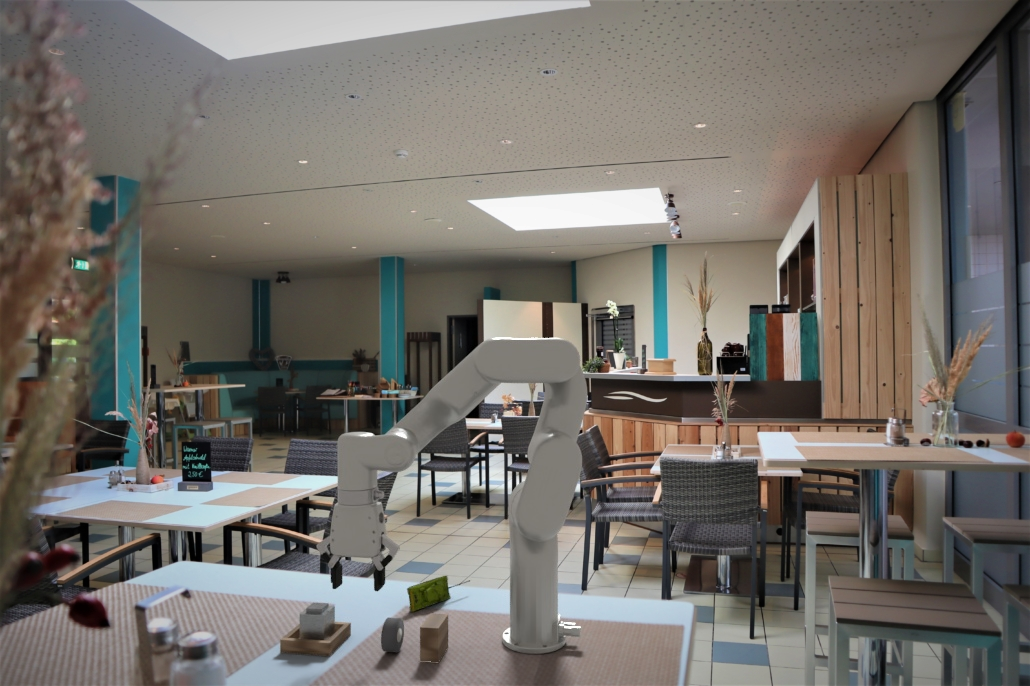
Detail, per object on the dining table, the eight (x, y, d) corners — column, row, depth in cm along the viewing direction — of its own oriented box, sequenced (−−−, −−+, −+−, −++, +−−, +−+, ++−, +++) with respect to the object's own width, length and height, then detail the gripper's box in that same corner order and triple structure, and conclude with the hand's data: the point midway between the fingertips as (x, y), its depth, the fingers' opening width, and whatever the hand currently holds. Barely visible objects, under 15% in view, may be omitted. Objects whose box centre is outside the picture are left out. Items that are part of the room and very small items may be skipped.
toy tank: (395, 584, 156) (424, 584, 149) (456, 565, 170) (485, 564, 164) (399, 617, 155) (429, 618, 148) (460, 594, 169) (489, 595, 163)
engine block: (334, 636, 139) (334, 602, 139) (324, 646, 134) (324, 611, 134) (311, 634, 140) (311, 600, 140) (299, 645, 135) (299, 609, 135)
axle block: (448, 647, 135) (448, 614, 135) (438, 663, 128) (438, 628, 128) (429, 646, 136) (429, 613, 136) (418, 661, 129) (418, 627, 129)
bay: (350, 635, 141) (350, 622, 141) (329, 656, 131) (329, 643, 131) (304, 631, 143) (304, 619, 143) (280, 652, 133) (280, 639, 133)
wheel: (404, 644, 136) (404, 613, 136) (394, 657, 130) (394, 625, 130) (391, 643, 136) (391, 612, 136) (380, 656, 130) (380, 624, 130)
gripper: (407, 494, 137) (407, 583, 137) (323, 491, 140) (324, 579, 140) (394, 502, 130) (394, 597, 129) (306, 499, 132) (306, 592, 132)
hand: (358, 587), depth 134 cm, fingers open, 7 cm apart
